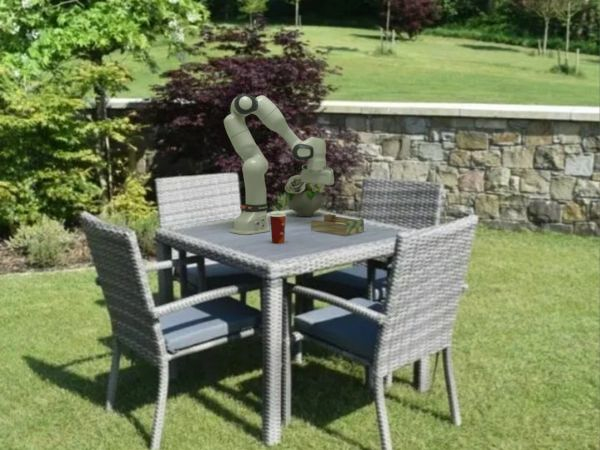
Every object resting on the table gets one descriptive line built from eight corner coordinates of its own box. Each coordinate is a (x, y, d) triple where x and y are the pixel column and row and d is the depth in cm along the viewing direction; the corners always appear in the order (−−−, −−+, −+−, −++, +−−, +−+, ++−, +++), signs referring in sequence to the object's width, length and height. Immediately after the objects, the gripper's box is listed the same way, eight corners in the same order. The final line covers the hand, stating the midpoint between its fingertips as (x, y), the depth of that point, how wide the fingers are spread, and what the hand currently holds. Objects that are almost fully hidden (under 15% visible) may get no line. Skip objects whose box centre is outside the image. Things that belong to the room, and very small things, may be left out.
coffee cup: (287, 243, 370) (286, 213, 368) (270, 244, 370) (269, 213, 367) (285, 240, 379) (285, 210, 376) (269, 240, 378) (269, 211, 375)
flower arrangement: (277, 217, 442) (277, 175, 437) (293, 210, 465) (293, 171, 460) (317, 220, 433) (318, 177, 429) (331, 213, 456) (332, 172, 452)
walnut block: (330, 224, 405) (330, 216, 404) (324, 223, 408) (324, 215, 407) (335, 223, 408) (335, 214, 408) (329, 222, 411) (329, 214, 410)
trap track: (345, 236, 388) (345, 222, 387) (310, 230, 403) (310, 217, 402) (363, 231, 400) (363, 218, 399) (329, 226, 415) (329, 213, 414)
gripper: (336, 167, 404) (336, 193, 407) (306, 164, 417) (306, 189, 419) (329, 168, 399) (329, 194, 402) (299, 165, 412) (299, 191, 414)
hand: (317, 192), depth 411 cm, fingers open, 3 cm apart
